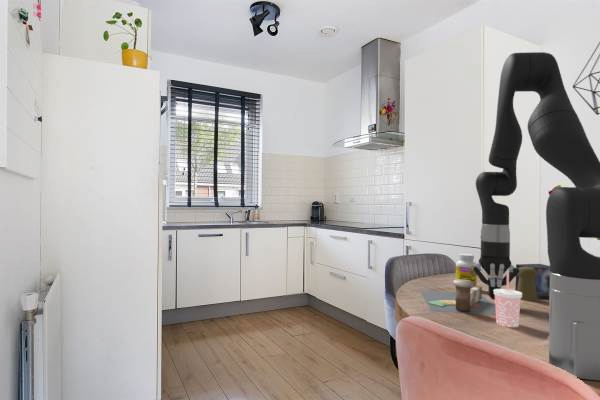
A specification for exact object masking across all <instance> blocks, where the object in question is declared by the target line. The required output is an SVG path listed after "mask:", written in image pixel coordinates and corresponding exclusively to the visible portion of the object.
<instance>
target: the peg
mask: <svg viewBox="0 0 600 400" xmlns="http://www.w3.org/2000/svg"><path fill="white" fill-rule="evenodd" d="M453 286H455V292H456V309H457V310H460V311H470V306H471V305H473V304H474V303H476V302H477V301H479V300H481V299H482V295H483V287H482V286H479V285H476V286H475V287H473V282H472V281H470V280H463V279H456V278H455V279H453ZM470 287H473V288H471V289H470Z"/></svg>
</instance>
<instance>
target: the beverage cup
mask: <svg viewBox="0 0 600 400" xmlns="http://www.w3.org/2000/svg"><path fill="white" fill-rule="evenodd" d="M506 274H507V285H506V288H501V289H494V290H493V292H494V294H495V300H494V305H495V309H496V315H495V321H496V324H497V325H499V326H503V327H507V328H518V327H519V325H520V311H521V301H522V300H521V297H522V293H521V292H519V291H515V290H514V289H510V283H509V271H508V270H507V271H506Z"/></svg>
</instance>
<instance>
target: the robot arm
mask: <svg viewBox="0 0 600 400" xmlns="http://www.w3.org/2000/svg"><path fill="white" fill-rule="evenodd" d="M500 73H501V74H500V79H499V87H498V95H497V97H498V98H497V107H496V118H495V119H496V120H495V129H494V134H493V138H492V139H493V140H492V143H491V147H490V151H489V154H488V163H489V164H490V165H491V166H493V167H495V168H499V169H502V171H483V172H480V173H479V174H478V176H477V177H476V179H475V187H476V192H477V195H478V198H479V202H480V206H481V229H480V237H479V238H480V258H479V260H478V263H476V265H475V266H474V265H473V266H471V268H472V270H473V271H474V272H475V274H476V275H477V278H478V279H479V280H480V282H482V283H483V284H484V285H487V286H488V297H490V299H491V300H492V301H495V294H494V292H493V290H494V289H502V287H503V286H507V271H509V284H510V283H511V282H512V281H513V280H514V279H515V278H516V275H517V274H518V273H519V269H517V268H516V266H514V265H512V261H511V258H510V257H511V229H510V208H509V206H508V205H506V204H503V203H500V202H499V203H498V202H496V201H495V200H494V198H493V197H500V196H501V197H507V196H510V195H513V194H514V193H515V191H516V189H517V187H518V180H517V177H518V176H517V161H518V157H519V153H520V151H521V147H522V144H523V131H522V128H521V125H520V123H519V121H518V118H517V114H516V113H515V109H514V98H515V94H516V92H534V93H537V94H538V96H539V99H540V100H539V102H538V103H537V105H536V107H535V108H534V110H533V111H532V113H531V115H530V117H529V119H528V122H527V131H528V135H529V137H530V141H531V144H532V146H533V149H534V151H535V152H536V153H537V155H538V156H539V157H540V158H542V159H543V160H544V161H545V162H546V163H548V165H550V166H552V167H553V168H555V169H556V170H557V171H559V172H560V173H561V174H563V175H565V177H567V178H568V180H570V182H571V183H572V184H573V185H574V186H573V187H571V186H567V187H565V186H563V187H557V188H555V189H553V190H552V192H550V194H549V196H548V199H547V200H546V201H547V202H546V210H545V217H546V218H545V219H546V221H545V222H546V236H547V239H546V241H547V256H548V260H549V261H548V263H549V266H550V295H549V300H548V301H549V307H548V308H549V310H548V312H549V314H548V317H549V320H548V322H549V323H548V326H549V327H548V345H549V346H548V347H549V348H548V364H549V365H550V364H552V365H554V366H556V367H559V368H561V369H563V370H566V371H567V372H569V373H571V374H573V375H575V376H577V377H578V378H577V379H579V378H580V380H581V379H582V380H591V381H600V257H599V256H596V255H593V254H591V253H589V252H587V251H586V250H585V249H584V248H583V247H582V244H581V240H580V238H582V239H583V238H585V239H586V238H588V239H591V238H592V239H593V238H594V239H600V160H599V158H598V156H597V154H596V152H595V150H594V148H593V147H592V145H591V142H590V141H589V138H588V137H587V134H586V132H585V128H584V127H583V124H582V122H581V120H580V118H579V116H578V114H577V112H576V111H575V108H574V107H573V104H572V103H571V100H570V97H569V95H568V93H567V90H566V88H565V84H564V82H563V77H562V74H561V71H560V68H559V64H558V61H557V60H556V57H555V56H554V55H553V54H551V53H550V52H549V53H548V52H544V51H543V52H542V51H541V52H538V51H537V52H536V51H535V52H533V51H531V52H514V53H511V54H509V55H508V57H506V59H505V61H504V63H503V66H502V69H501V71H500ZM482 269H483V270H484V272H485V273H486V277H485V276H484V274H483V273H482ZM505 273H506V274H505ZM504 274H505V276H504ZM552 365H551V366H552Z"/></svg>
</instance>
